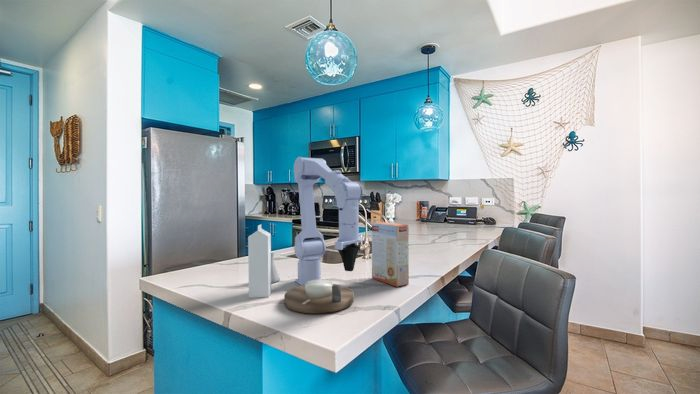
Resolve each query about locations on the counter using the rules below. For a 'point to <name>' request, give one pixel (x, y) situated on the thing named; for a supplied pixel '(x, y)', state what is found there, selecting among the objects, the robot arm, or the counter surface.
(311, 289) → the dish
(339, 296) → the turntable
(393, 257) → the cracker box
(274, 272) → the flask
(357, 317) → the counter surface
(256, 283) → the milk
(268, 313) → the counter surface
